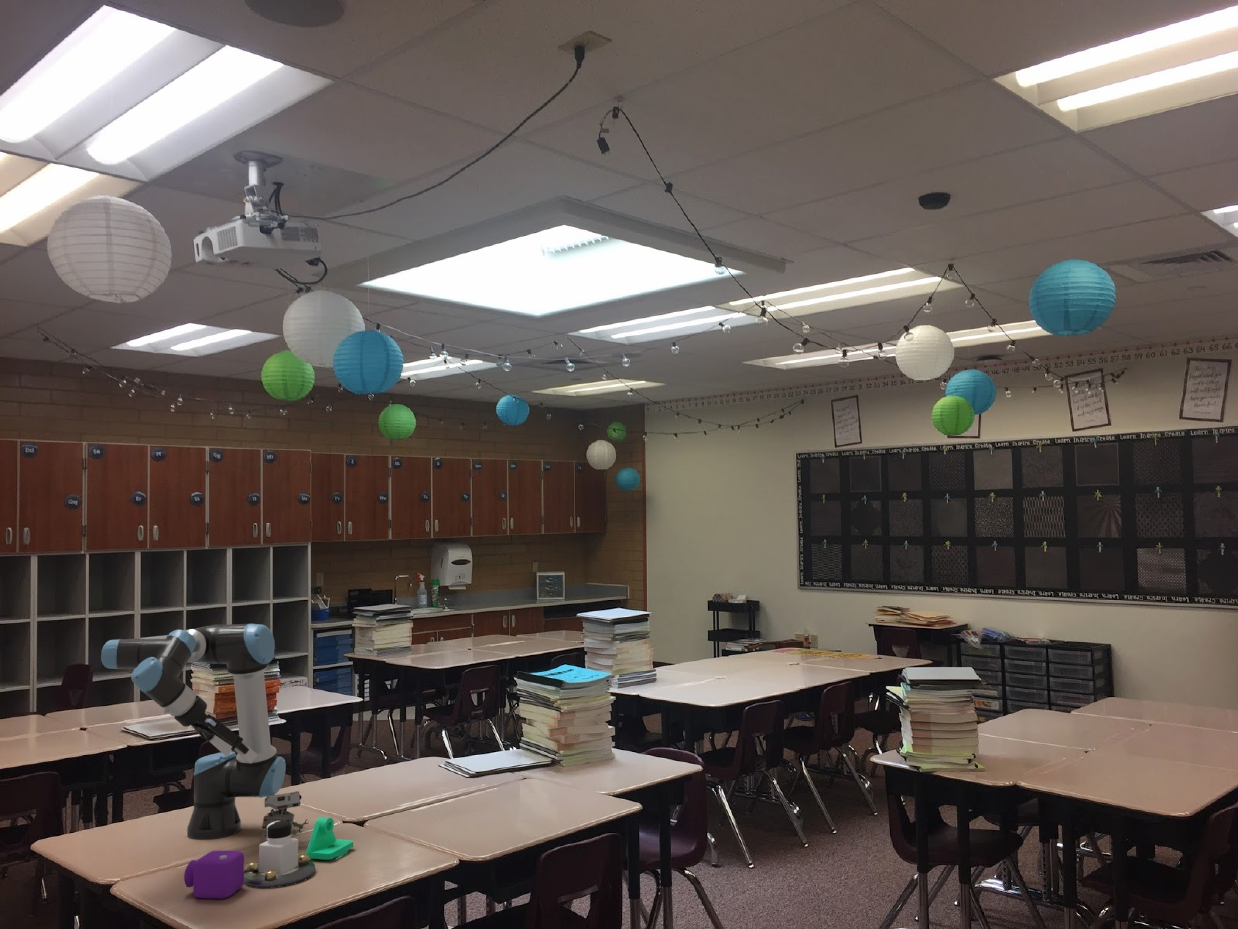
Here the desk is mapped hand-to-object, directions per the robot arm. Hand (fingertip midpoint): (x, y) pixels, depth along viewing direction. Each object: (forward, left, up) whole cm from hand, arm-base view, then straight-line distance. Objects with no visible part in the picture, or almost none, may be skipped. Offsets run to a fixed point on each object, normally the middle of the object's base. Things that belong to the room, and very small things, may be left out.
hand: (241, 755), depth 252 cm
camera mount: (+2, +25, -32) cm, 41 cm away
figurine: (-16, +21, -32) cm, 41 cm away
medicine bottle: (+6, +8, -30) cm, 32 cm away
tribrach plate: (+6, +8, -32) cm, 33 cm away
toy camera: (+5, -10, -32) cm, 34 cm away
